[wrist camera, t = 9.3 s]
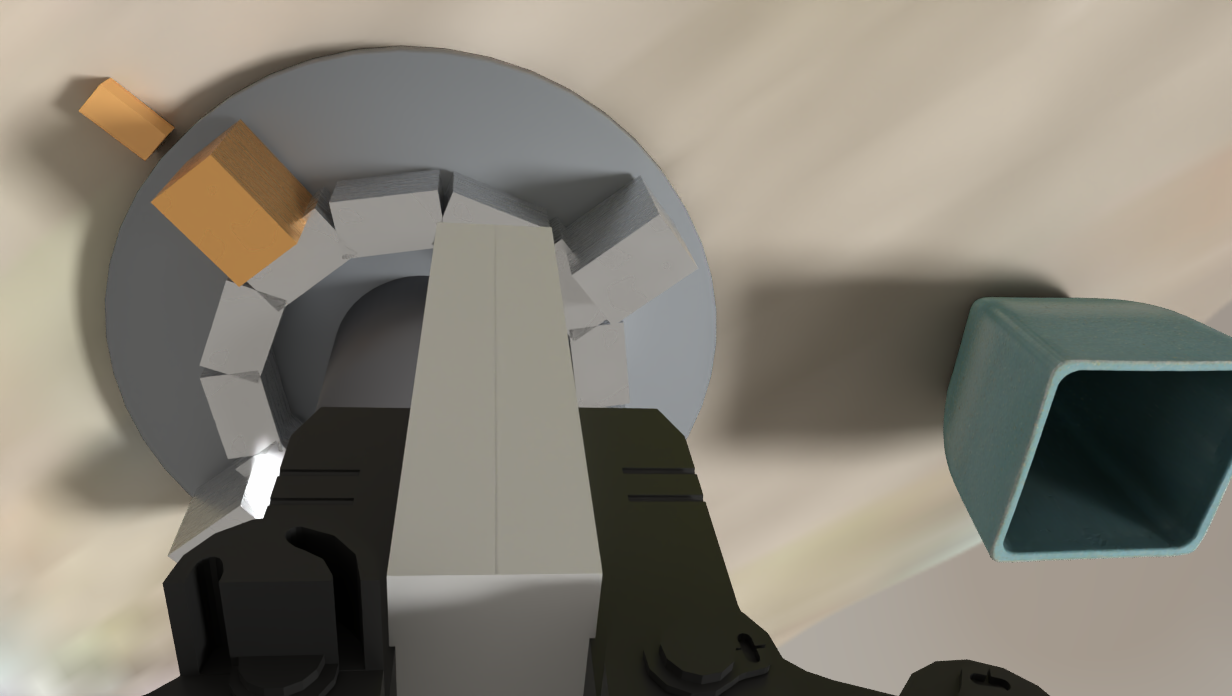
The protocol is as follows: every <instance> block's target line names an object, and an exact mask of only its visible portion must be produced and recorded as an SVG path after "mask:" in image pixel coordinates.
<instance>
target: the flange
mask: <svg viewBox="0 0 1232 696" xmlns="http://www.w3.org/2000/svg"><path fill="white" fill-rule="evenodd" d="M240 119H241V120H242V121H243V122H244V123H245V124H246V125H247V126H248V127H249V128H250V130H251V131H252V132H253V133H254V134H255V135H256V136H257V137H258V138H259V139H260V140H261V141H262V142H263V143H264V145H265V146H266V147H267V148H268V149H269V150H270V151H271V152H272V153H273V154H274V155H275V156H276V157H277V158H278V160H279V161H280V162H281V163H282V164H283V165H284V166H285V167H286V168H287V169H288V170H289V171H290V172H291V173H292V175H293V176H294V177H295V178H296V179H297V180H298V181H299V182H300V183H301V184H302V185H303V186H304V187H305V188H306V189H307V191H308V192H309V193H310V194H311V195H313V194H315V193H316V192H317V191H319V190H320V189H321V188H323V187H325V188H326V189H327V190H328V191H329V192H330V193H331V194H333V191H334V189H335V186H336V184H337V181H342V180H351V179H359V178H368V177H377V176H385V175H394V174H403V173H411V172H420V171H429V170H437V169H440V175H441V180H442V186H443V192H444V195H445V192H446V190H447V188H448V185H449V183H450V180H451V178H452V175H453V173H454V171H455V172H457V173H460V174H462V175H465V176H467V177H470V178H472V179H475V180H477V181H480V182H482V183H485V184H487V185H490V186H492V187H495V188H497V189H500V190H502V191H505V192H507V193H510V194H512V195H515V196H517V197H520V198H522V199H524V200H527V201H529V202H532V203H534V204H537V205H539V206H542V207H544V208H546V210H547V215H548V220H549V222H550V221H551V220H552V219H554V218H555V217H558V218H559V219H560V221H561V222H562V223H563V225H564V226H565V227H567V226H569V225H570V224H572V223H573V222H574V221H576V220H577V219H579V218H580V217H581V216H583V215H584V214H586V213H587V212H589V211H590V210H591V209H593V208H594V207H596V206H597V205H598V204H600V203H601V202H603V201H604V200H606V199H607V198H608V197H610V196H611V195H613V194H614V193H615V192H617V191H618V190H620V189H621V188H623V187H624V186H625V185H627V184H628V183H630V182H631V181H632V180H634V179H635V178H637V177H638V176H639V175H640V176H641V177H642V179H643V180H644V182H645V183H646V184H647V186H648V187H649V189H650V190H651V191H652V193H653V194H654V196H655V197H656V198H657V200H658V201H659V203H660V204H661V206H662V207H663V208H664V210H665V211H666V213H667V214H668V215H669V217H670V218H671V220H672V221H673V223H674V224H675V225H676V227H677V229H678V231H679V233H680V235H681V237H682V239H683V241H684V242H685V244H686V246H687V248H688V250H689V252H690V254H691V256H692V258H693V259H694V261H695V263H696V265H697V267H698V269H697V270H695V271H694V272H692V273H691V274H689V275H688V276H686V277H685V278H683V279H682V280H680V281H679V282H677V283H676V284H675V285H673V286H672V287H670V288H669V289H667V290H666V291H664V292H663V293H661V294H660V295H658V296H657V297H655V298H654V299H652V300H651V301H649V302H648V303H646V304H645V305H643V306H642V307H640V308H639V309H638V310H636V311H635V312H633V313H632V314H630V315H629V316H627V317H626V318H624V319H623V322H624V333H625V346H626V358H627V371H628V383H629V396H630V403H629V404H625V407H626V408H654V409H658V410H659V411H660V412H661V413H662V414H663V415H664V416H665V417H666V418H667V419H668V420H669V421H670V422H671V423H672V424H673V425H674V426H675V427H676V428H677V429H678V430H679V431H680V432H681V433H682V434H683V435H684V436H685V439H687V437H688V436H689V433H690V431H691V429H692V427H693V425H694V422H695V420H696V418H697V416H698V414H699V412H700V409H701V407H702V404H703V401H704V398H705V394H706V391H707V388H708V384H709V381H710V378H711V373H712V367H713V360H714V353H715V347H716V305H715V298H714V291H713V283H712V276H711V273H710V270H709V266H708V263H707V259H706V256H705V253H704V249H703V246H702V243H701V240H700V238H699V236H698V234H697V232H696V229H695V227H694V225H693V223H692V221H691V219H690V216H689V214H688V212H687V210H686V208H685V206H684V205H683V203H682V201H681V200H680V198H679V196H678V195H677V193H676V192H675V190H674V189H673V187H672V186H671V184H670V182H669V181H668V179H667V178H666V176H665V175H664V173H663V172H662V170H661V169H660V167H659V166H658V165H657V164H656V163H655V161H654V160H653V159H652V158H651V157H650V156H649V154H648V153H647V152H646V151H645V150H644V149H643V148H642V146H641V145H640V144H639V143H638V142H637V141H636V139H635V138H633V137H632V136H631V135H630V134H629V133H628V132H627V131H625V130H624V129H623V128H622V127H621V126H620V125H619V124H617V123H616V122H615V121H614V120H613V119H612V118H611V117H609V116H608V115H607V114H606V113H605V112H603V111H602V110H600V109H599V108H597V107H596V106H594V105H593V104H591V103H590V102H588V101H587V100H585V99H584V98H582V97H581V96H579V95H578V94H576V93H575V92H573V91H572V90H570V89H568V88H566V87H564V86H562V85H560V84H558V83H556V82H554V81H552V80H550V79H548V78H545V77H543V76H541V75H539V74H537V73H535V72H533V71H531V70H528V69H525V68H522V67H519V66H516V65H513V64H510V63H507V62H504V61H501V60H498V59H495V58H492V57H487V56H482V55H477V54H472V53H466V52H461V51H456V50H451V49H444V48H427V47H410V46H395V47H382V48H368V49H356V50H351V51H347V52H342V53H337V54H332V55H328V56H323V57H318V58H314V59H311V60H308V61H305V62H302V63H300V64H297V65H294V66H291V67H289V68H286V69H283V70H280V71H278V72H275V73H272V74H270V75H268V76H266V77H264V78H262V79H261V80H259V81H257V82H255V83H253V84H251V85H249V86H248V87H246V88H244V89H242V90H240V91H238V92H236V93H235V94H233V95H232V96H230V97H229V98H228V99H226V100H225V101H223V102H222V103H221V104H219V105H218V106H217V107H215V108H214V109H213V110H211V111H210V112H209V113H207V114H206V115H205V116H203V117H202V118H201V119H199V120H198V122H197V123H196V124H195V125H194V126H193V127H192V128H191V129H190V130H189V131H188V132H187V133H186V134H185V135H184V136H183V137H182V138H181V139H180V140H179V141H178V142H177V143H176V144H175V145H174V146H173V147H172V148H171V149H170V150H169V151H168V152H167V153H166V154H165V155H164V156H163V157H162V158H161V159H160V161H159V162H158V164H157V165H156V167H155V168H154V169H153V171H152V172H151V174H150V175H149V176H148V178H147V179H146V181H145V182H144V183H143V185H142V186H141V188H140V189H139V191H138V192H137V194H136V196H135V198H134V200H133V202H132V204H131V206H130V208H129V211H128V213H127V215H126V217H125V219H124V221H123V223H122V225H121V227H120V230H119V234H118V237H117V240H116V244H115V247H114V251H113V254H112V257H111V261H110V264H109V273H108V281H107V289H106V297H105V313H106V337H107V343H108V348H109V353H110V358H111V363H112V368H113V373H114V376H115V378H116V381H117V384H118V387H119V389H120V392H121V395H122V398H123V400H124V403H125V406H126V408H127V410H128V412H129V414H130V416H131V418H132V419H133V421H134V423H135V425H136V427H137V429H138V431H139V432H140V434H141V436H142V438H143V440H144V441H145V442H146V444H147V445H148V447H149V448H150V449H151V451H152V452H153V453H154V455H155V456H156V458H157V459H158V460H159V462H160V463H161V464H162V466H163V467H164V468H165V470H166V471H167V472H168V473H169V474H170V475H171V476H172V477H173V478H174V479H175V480H176V481H177V482H178V483H179V484H180V485H181V486H182V488H183V489H184V490H185V491H186V492H187V493H188V494H189V495H190V496H192V497H193V495H194V493H195V491H196V488H198V487H199V486H201V485H202V484H204V483H205V482H206V481H208V480H209V479H211V478H212V477H213V476H215V475H216V474H218V473H219V472H220V471H222V470H223V469H225V468H226V467H228V466H229V465H230V464H232V463H233V462H235V461H236V460H237V459H239V458H232V459H228V458H227V455H226V452H225V449H224V446H223V443H222V441H221V438H220V435H219V432H218V429H217V426H216V423H215V421H214V418H213V415H212V412H211V409H210V406H209V403H208V400H207V398H206V395H205V392H204V389H203V386H202V383H201V380H200V376H201V374H202V373H203V371H204V369H205V367H202V366H199V365H200V362H201V359H202V356H203V353H204V349H205V346H206V343H207V340H208V337H209V333H210V330H211V327H212V324H213V321H214V318H215V314H216V311H217V308H218V305H219V302H220V298H221V295H222V292H223V289H224V286H225V283H226V280H227V278H228V276H227V275H226V274H225V273H224V272H223V271H222V270H221V269H220V268H219V267H218V266H217V265H216V264H214V263H213V262H212V261H211V260H210V259H209V258H208V257H207V256H206V255H205V254H204V253H203V252H202V251H201V250H200V249H199V248H198V247H197V246H196V245H195V244H194V243H193V242H191V241H190V240H189V239H188V238H187V237H186V236H185V235H184V234H183V233H182V232H181V231H180V230H179V229H178V228H177V227H176V226H175V225H174V224H173V223H172V222H171V221H169V220H168V219H167V218H166V217H165V216H164V215H163V214H162V213H161V212H160V211H159V210H158V209H157V208H156V207H155V206H154V205H153V204H152V203H151V201H152V200H153V199H154V198H155V197H156V195H157V194H158V193H159V192H160V191H161V190H162V189H163V188H164V187H165V185H166V184H167V183H168V182H169V181H170V180H171V179H172V178H173V176H174V175H175V174H176V173H177V172H178V171H179V170H180V169H181V167H182V166H183V165H184V164H185V163H186V162H187V161H188V160H189V159H191V158H192V157H193V156H194V155H196V154H197V153H198V152H199V151H201V150H202V149H203V148H205V147H206V146H207V145H208V144H210V143H211V142H212V141H213V140H215V139H216V138H217V137H218V136H220V135H221V134H222V133H223V132H225V131H226V130H227V129H228V128H230V127H231V126H232V125H234V124H235V123H236V122H237V121H239V120H240ZM432 255H433V248H431V249H423V250H415V251H407V252H399V253H390V254H382V255H374V256H366V257H358V258H351V259H349V260H348V261H347V262H345V263H344V264H343V265H341V266H340V267H338V268H337V269H336V270H334V271H333V272H332V273H330V274H329V275H328V276H326V277H325V278H324V279H322V280H321V281H319V282H318V283H317V284H315V285H314V286H313V287H311V288H310V289H309V290H307V291H306V292H305V293H303V294H302V295H300V296H299V297H298V298H296V299H295V300H294V301H292V302H291V303H290V304H288V305H287V306H286V309H285V311H284V314H283V317H282V320H281V323H280V326H279V329H278V331H277V334H276V337H275V340H274V343H273V346H272V349H273V352H274V356H275V359H276V363H277V366H278V369H279V373H280V376H281V379H282V383H283V386H284V389H285V393H286V396H287V399H288V403H289V406H290V410H291V413H292V414H293V415H294V416H295V417H296V418H298V419H299V420H300V421H301V422H302V423H304V422H306V421H307V420H308V419H309V418H310V417H311V416H312V415H313V414H314V413H315V412H316V411H317V410H318V409H319V408H321V407H372V408H411V402H412V395H413V388H414V381H415V374H416V367H417V360H418V353H419V346H420V339H421V332H422V325H423V318H424V311H425V304H426V297H427V290H428V283H429V276H430V269H431V262H432Z"/></svg>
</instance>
